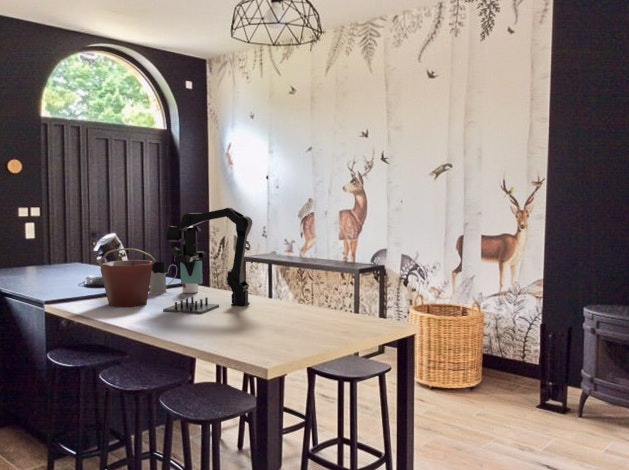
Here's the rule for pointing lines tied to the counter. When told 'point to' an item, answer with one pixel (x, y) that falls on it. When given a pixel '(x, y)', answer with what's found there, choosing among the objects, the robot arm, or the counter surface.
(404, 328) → the counter surface
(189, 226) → the robot arm
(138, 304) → the bucket
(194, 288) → the milk bottle
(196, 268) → the teal plate
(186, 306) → the dish rack
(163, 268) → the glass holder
